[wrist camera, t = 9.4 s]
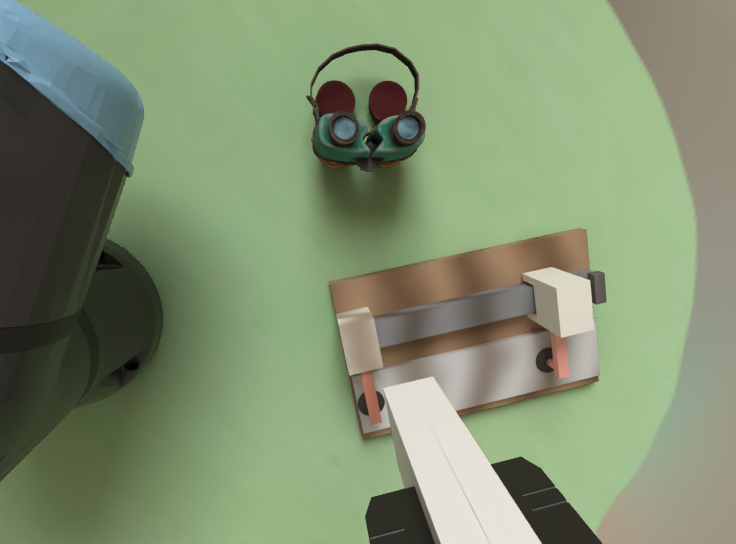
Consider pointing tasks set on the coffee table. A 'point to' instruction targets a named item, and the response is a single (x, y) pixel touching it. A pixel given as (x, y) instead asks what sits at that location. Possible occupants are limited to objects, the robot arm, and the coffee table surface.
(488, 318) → the gauge
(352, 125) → the binoculars
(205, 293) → the coffee table surface
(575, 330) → the slider head
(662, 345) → the coffee table surface
